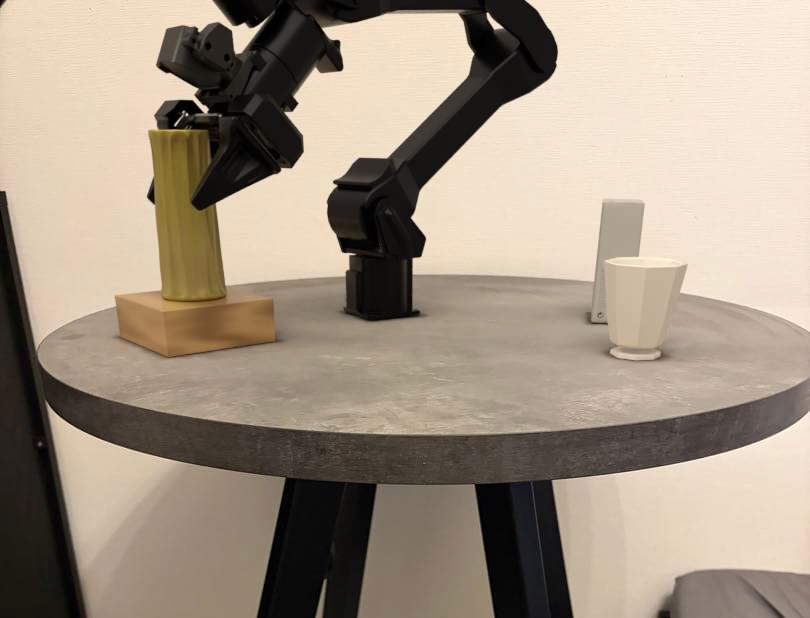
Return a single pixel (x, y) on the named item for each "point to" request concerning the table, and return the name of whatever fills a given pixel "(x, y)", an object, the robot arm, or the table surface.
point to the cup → (641, 303)
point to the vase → (185, 218)
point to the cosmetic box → (615, 244)
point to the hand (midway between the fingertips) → (171, 204)
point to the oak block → (195, 322)
